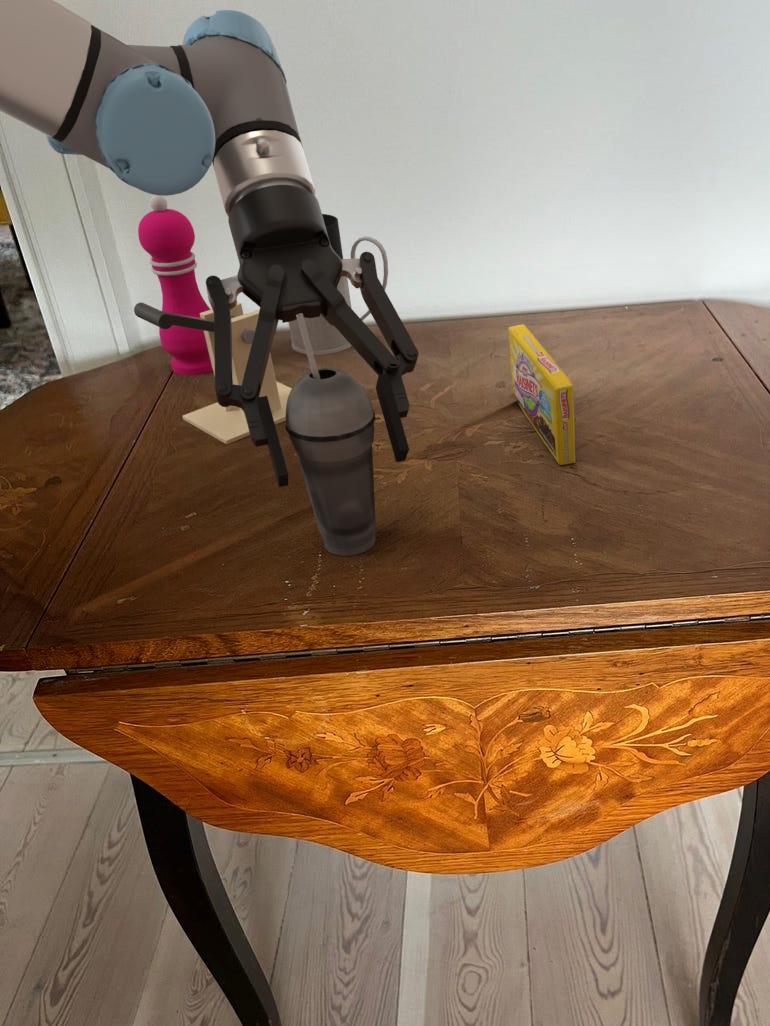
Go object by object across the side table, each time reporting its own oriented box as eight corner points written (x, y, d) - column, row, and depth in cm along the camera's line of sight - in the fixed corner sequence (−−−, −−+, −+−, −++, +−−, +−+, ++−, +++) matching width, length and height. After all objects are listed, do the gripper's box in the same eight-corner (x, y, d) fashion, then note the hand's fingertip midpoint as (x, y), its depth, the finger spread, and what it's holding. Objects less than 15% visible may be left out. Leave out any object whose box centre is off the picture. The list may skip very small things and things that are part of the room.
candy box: (510, 399, 104) (507, 325, 99) (528, 396, 105) (527, 322, 100) (555, 467, 92) (555, 386, 87) (576, 463, 92) (577, 382, 87)
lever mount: (228, 452, 98) (201, 340, 91) (184, 426, 103) (156, 319, 96) (322, 413, 104) (304, 305, 97) (276, 391, 110) (256, 287, 102)
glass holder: (310, 333, 123) (290, 210, 114) (411, 342, 119) (398, 215, 110) (277, 359, 117) (253, 231, 108) (382, 369, 113) (366, 237, 103)
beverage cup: (369, 570, 80) (334, 337, 67) (293, 557, 82) (245, 329, 69) (404, 526, 85) (378, 302, 72) (332, 515, 87) (294, 295, 75)
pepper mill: (239, 372, 114) (200, 194, 102) (182, 389, 111) (134, 207, 99) (216, 354, 119) (176, 182, 107) (161, 370, 116) (113, 195, 104)
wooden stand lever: (157, 333, 89) (160, 307, 89) (132, 321, 92) (135, 296, 92) (257, 349, 98) (261, 325, 97) (231, 337, 101) (235, 314, 100)
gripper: (128, 199, 71) (201, 482, 69) (406, 161, 76) (482, 424, 74) (143, 253, 79) (210, 510, 77) (395, 215, 84) (464, 456, 82)
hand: (343, 468), depth 76 cm, fingers open, 9 cm apart
